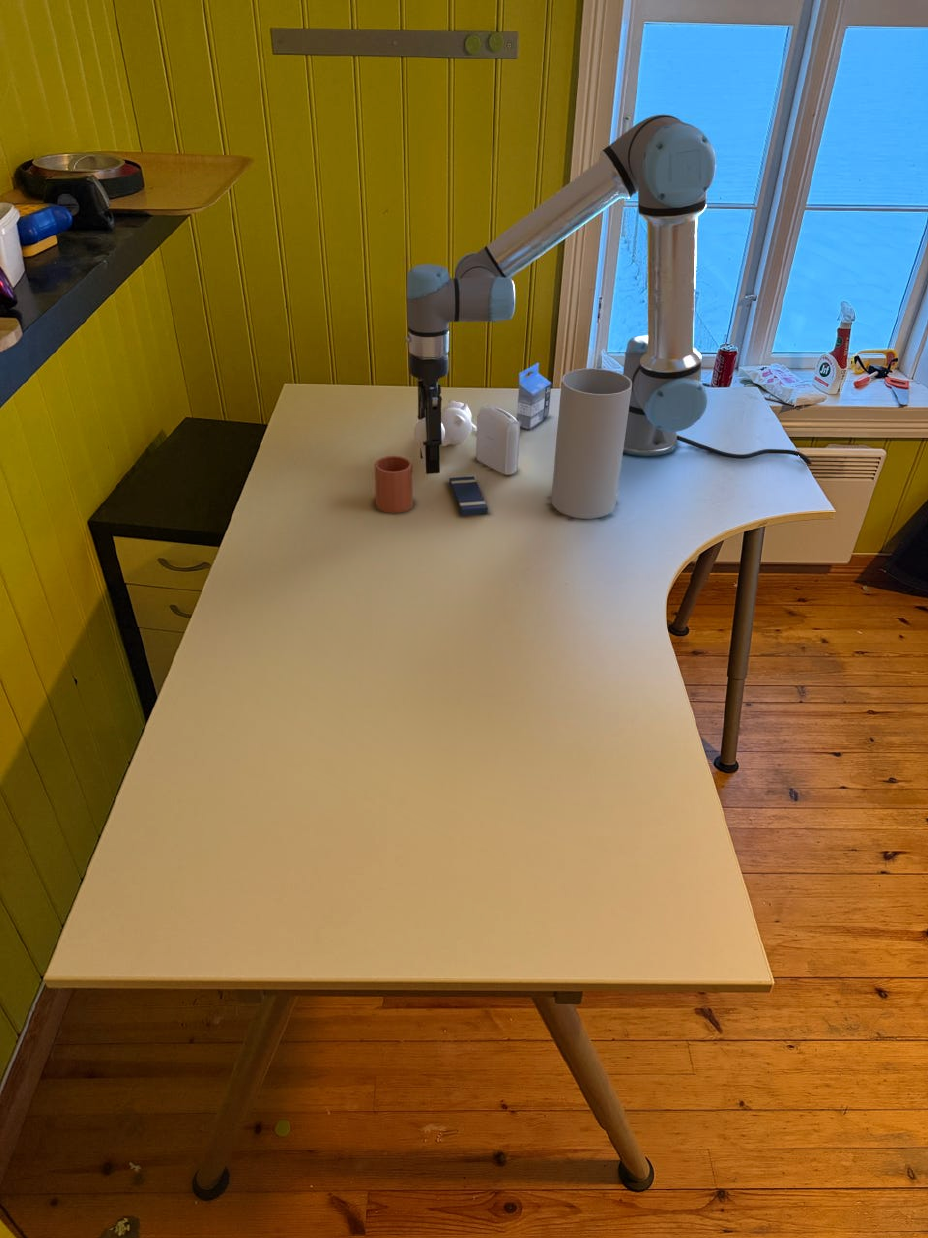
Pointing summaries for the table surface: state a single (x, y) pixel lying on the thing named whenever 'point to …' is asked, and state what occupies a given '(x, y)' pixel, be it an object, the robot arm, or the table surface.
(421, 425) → the lightbulb
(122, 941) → the table surface
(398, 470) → the pot
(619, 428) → the cylinder vase
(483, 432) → the photo printer
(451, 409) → the cat figurine
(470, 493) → the towel
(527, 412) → the ink cartridge box
